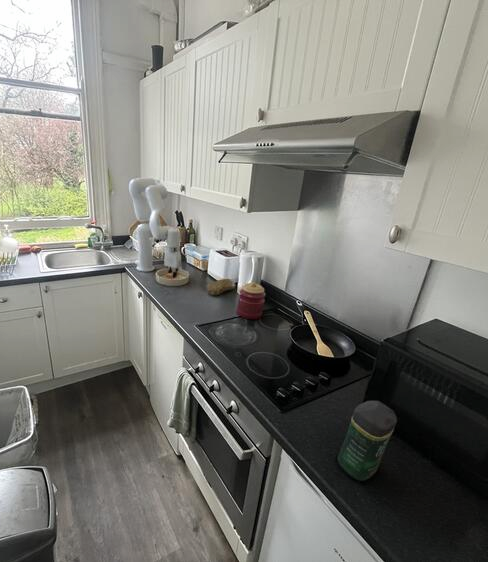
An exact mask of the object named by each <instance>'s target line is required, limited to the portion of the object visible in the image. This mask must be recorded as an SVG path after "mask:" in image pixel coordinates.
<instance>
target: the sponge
mask: <svg viewBox="0 0 488 562" xmlns="http://www.w3.org/2000/svg"><path fill="white" fill-rule="evenodd" d="M235 288H236V283H235V282H234V281H233V280H232V279H229V278H222V279H217V280H214V281H212V282H209V283H207V286H206V289H207V292H208V294H209V295H212V296H219V295H221V294H223V293H224V292H226V291H232V290H234V289H235Z"/></svg>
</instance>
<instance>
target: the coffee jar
mask: <svg viewBox="0 0 488 562" xmlns="http://www.w3.org/2000/svg"><path fill="white" fill-rule="evenodd" d="M397 422H398V417H397V415H396V413H395V411H394V410H393V409H391V408H390V407H388V405H386V404H384V403H383V402H381V401H379V400H367V401H364V402H362V403H360V404H358V405H357V406H356V407H355V408H354V410H353V412H352V414H351V420H350V424H349V426H348V429H347V432H346V435H345V438H344V439H343V440H344V441H343V443H342V445H341V447H340V450H339V454H338V456H337V462H338V465H339V466H340V467H341V469H342V470H344V472H346V474H348V475H349V476H350V477H352V478H353V479H354V480H357V481H359V482H361V481H362V482H364V481H367V480H368V479H370V478H372V477H373V476H374V475H375V474H376V473H377V471H378V470H379V466H380V464H381V461H382V458H383V456H384V452H385V450H386V447H387V446H388V444H389V443H388V442H389V440H390V438H391V436H392V434H393V432H394V431H395V427H396V424H397Z"/></svg>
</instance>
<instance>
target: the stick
mask: <svg viewBox="0 0 488 562" xmlns="http://www.w3.org/2000/svg"><path fill="white" fill-rule="evenodd" d="M173 272H174V271H173ZM173 272H171V273H169V274H166V279H171V278H173ZM178 275H179V271H177V276H178Z"/></svg>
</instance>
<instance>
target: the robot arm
mask: <svg viewBox="0 0 488 562" xmlns="http://www.w3.org/2000/svg"><path fill="white" fill-rule="evenodd" d="M128 191H129V194H130V197H131V199H132V204H133V208H134V213H135V214H134V215H135V218H136V220H137V221H138V222H143V223H140V224H138V225H137V227H136V237H137V257H138V259H137V260H135V262H134V264H135V265H136V266H135V269H136V271H139V272H142V273H144V272H145V273H146V272H147V273H148V272H153V271H154V270H155V266H154V265H153V242H152V240H151V238H154V239H155V240H158V241H159V240H167V242H166V244H167V245H166V246H165V248H166V250H165V253H164V259H163V260H164V262H163V266H164V267H166V268H167V269H168V274H169V273H171V272H172V270H171V269H172V268H174V272H173V278H175V277H177V271H178V270H180V269H182V270H183V267H182V255H181V251H180V247H181V246H180V245H181V244H180V243H181V230H180V229H179V228H175V227H173V226H171V225H164V226H163V225H162V223H161V219H160V217H161V216H160V214H162V213H163V212H165V209H166V207H165V204H164V202H163V200H165V199H166V198H168V189H167V188H166V186H165V185H163V184H162V183H161V182H159V181H158V180H156V179H155V178H150V177H136V178H132V179H131V180H130V182H129V185H128ZM143 193H145V195H144V194H143ZM145 196H146V197H145ZM147 202H148V203H147ZM144 222H145V223H144Z"/></svg>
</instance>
